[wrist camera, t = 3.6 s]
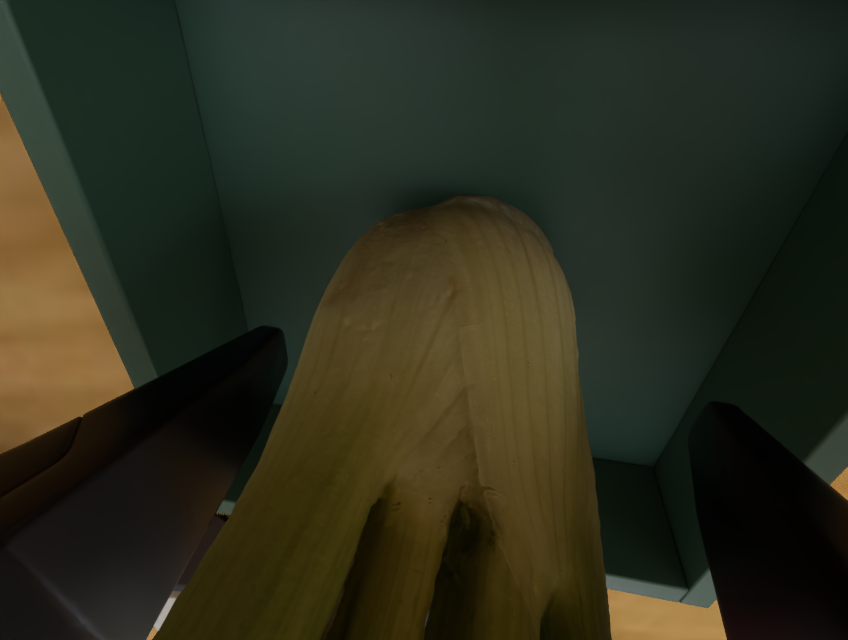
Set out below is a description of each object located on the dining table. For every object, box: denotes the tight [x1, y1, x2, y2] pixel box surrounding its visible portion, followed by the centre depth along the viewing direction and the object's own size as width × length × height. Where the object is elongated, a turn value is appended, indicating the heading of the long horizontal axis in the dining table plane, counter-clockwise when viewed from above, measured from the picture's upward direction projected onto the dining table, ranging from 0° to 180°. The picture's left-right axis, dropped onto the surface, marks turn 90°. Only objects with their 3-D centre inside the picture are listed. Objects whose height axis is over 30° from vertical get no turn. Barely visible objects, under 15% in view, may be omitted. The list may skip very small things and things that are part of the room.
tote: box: [0, 0, 848, 608], centre depth 11 cm, size 16×15×4 cm
